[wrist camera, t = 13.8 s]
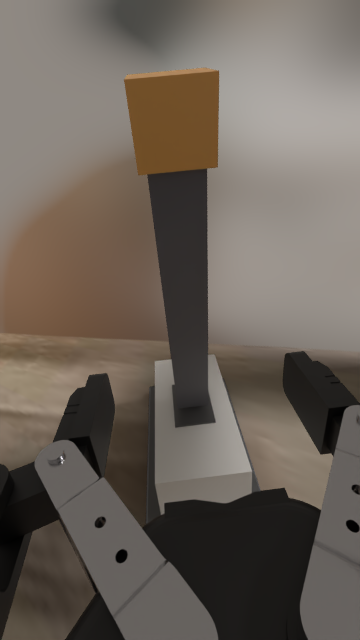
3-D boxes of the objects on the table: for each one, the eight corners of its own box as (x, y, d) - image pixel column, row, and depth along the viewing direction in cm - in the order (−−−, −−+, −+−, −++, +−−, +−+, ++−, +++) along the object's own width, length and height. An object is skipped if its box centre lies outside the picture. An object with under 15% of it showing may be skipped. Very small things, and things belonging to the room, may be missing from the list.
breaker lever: (213, 410, 24) (219, 70, 10) (173, 414, 24) (123, 79, 10) (207, 379, 26) (205, 67, 12) (171, 383, 26) (127, 74, 12)
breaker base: (277, 552, 21) (283, 496, 18) (147, 570, 20) (132, 516, 18) (223, 385, 37) (222, 341, 34) (150, 393, 36) (143, 350, 34)
